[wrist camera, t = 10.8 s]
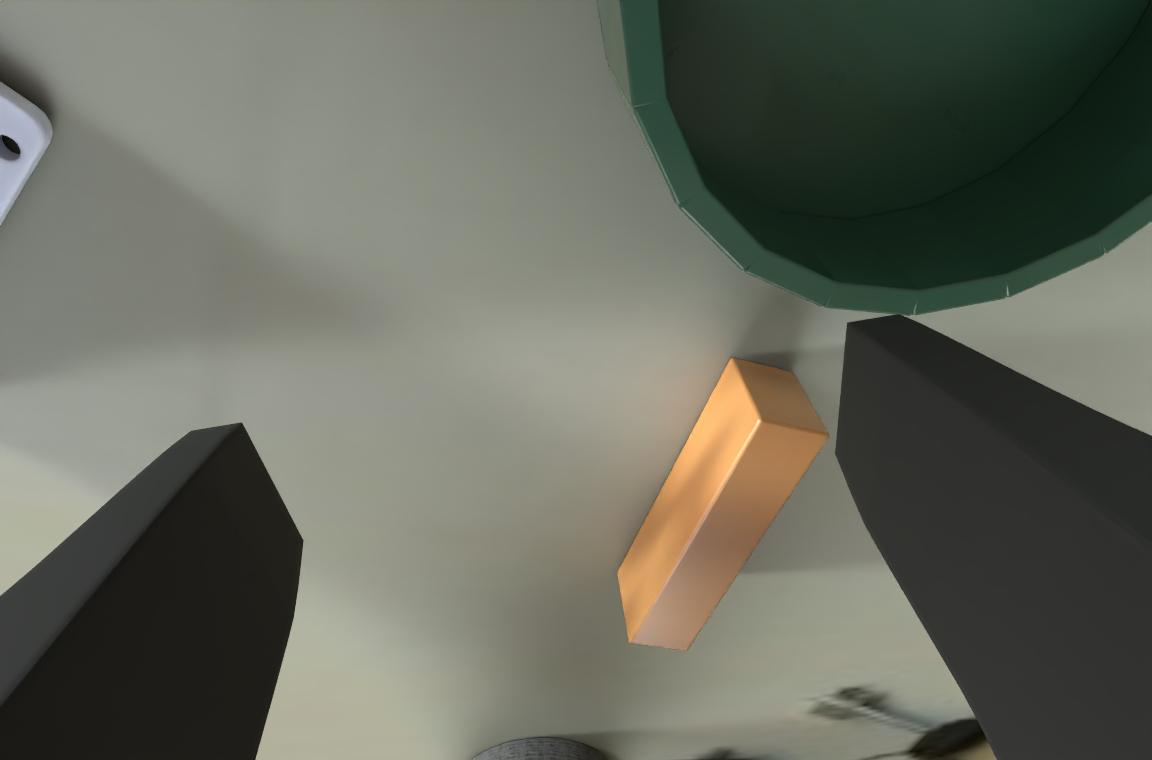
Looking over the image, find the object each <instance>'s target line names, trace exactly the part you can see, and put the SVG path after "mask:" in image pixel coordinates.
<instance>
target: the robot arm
mask: <svg viewBox="0 0 1152 760" xmlns="http://www.w3.org/2000/svg"><path fill="white" fill-rule="evenodd" d="M2 135H5V136H8V137H10V138H12V139H13V140H14V141H15V142H16V143H17V144H18V146H19V148H20V150H21V153H20V154H16V153H14V152H11V151H10V150H9V149H8V148H7V147H6V146H5V145H4V143H3V141H2ZM52 136H53V130H52V125H51V122H50V121H49V119H48V118H47V116H46V114H45V113H44V112H43V111H41V110H40V109H39V108H38V107H37V106H36V105H34V104H33V103H31V102H30V101H28V100H27V99H25V98H24V97H22V96H21V95H20V94H18V93H17V92H15V91H14V90H12V89H11V88H9V87H8V86H6V85H5V84H3V83H2V82H0V226H1V224H2V222H3V221H4V219H5V217H6V216H7V214H8V212H9V211H10V209H11V207H12V206H13V204H14V202H15V201H16V199H17V197H18V196H19V194H20V192H21V191H22V189H23V187H24V186H25V184H26V182H27V180H28V179H29V177H30V175H31V174H32V172H33V170H34V169H35V167H36V165H37V164H38V162H39V160H40V159H41V157H42V155H43V154H44V152H45V150H46V149H47V147H48V145H49V144H50V142H51V139H52ZM835 454H836V457H837V459H838V462H839V464H840V467H841V469H842V472H843V474H844V477H845V479H846V482H847V484H848V487H849V489H850V492H851V494H852V497H853V499H854V501H855V503H856V506H857V508H858V510H859V513H860V515H861V517H862V520H863V522H864V524H865V526H866V528H867V530H868V531H869V533H870V535H871V537H872V539H873V540H874V542H875V544H876V546H877V547H878V549H879V551H880V552H881V554H882V556H883V558H884V559H885V561H886V563H887V565H888V566H889V568H890V570H891V572H892V573H893V575H894V577H895V578H896V580H897V582H898V584H899V585H900V587H901V589H902V590H903V592H904V594H905V595H906V597H907V599H908V601H909V602H910V604H911V606H912V607H913V609H914V611H915V612H916V614H917V616H918V618H919V619H920V621H921V623H922V624H923V626H924V628H925V629H926V631H927V633H928V634H929V636H930V638H931V640H932V641H933V643H934V645H935V646H936V648H937V650H938V651H939V653H940V655H941V657H942V658H943V660H944V662H945V663H946V665H947V667H948V668H949V670H950V672H951V674H952V675H953V677H954V679H955V680H956V682H957V684H958V685H959V687H960V689H961V691H962V692H963V694H964V696H965V698H966V700H967V702H968V703H969V705H970V707H971V709H972V711H973V713H974V715H975V717H976V718H977V720H978V722H979V724H980V726H981V728H982V730H983V731H984V733H985V736H986V738H987V740H988V742H989V744H990V746H991V748H992V750H993V753H994V755H995V757H996V759H997V760H1152V436H1151V435H1148V434H1146V433H1144V432H1142V431H1139V430H1137V429H1135V428H1132V427H1130V426H1128V425H1126V424H1124V423H1121V422H1119V421H1117V420H1115V419H1113V418H1111V417H1109V416H1106V415H1104V414H1102V413H1100V412H1098V411H1096V410H1094V409H1091V408H1089V407H1087V406H1085V405H1083V404H1081V403H1079V402H1077V401H1075V400H1073V399H1071V398H1069V397H1066V396H1064V395H1062V394H1060V393H1058V392H1056V391H1054V390H1052V389H1050V388H1048V387H1046V386H1044V385H1042V384H1040V383H1038V382H1036V381H1034V380H1032V379H1030V378H1028V377H1026V376H1024V375H1022V374H1020V373H1018V372H1016V371H1014V370H1012V369H1010V368H1008V367H1006V366H1004V365H1002V364H1000V363H998V362H996V361H994V360H993V359H991V358H989V357H987V356H985V355H983V354H981V353H979V352H977V351H975V350H973V349H971V348H969V347H967V346H965V345H963V344H961V343H959V342H957V341H955V340H953V339H951V338H949V337H947V336H945V335H943V334H941V333H939V332H937V331H935V330H933V329H931V328H929V327H927V326H925V325H923V324H920V323H918V322H916V321H914V320H911V319H909V318H907V317H904V316H902V315H900V314H897V315H891V316H885V317H879V318H873V319H867V320H861V321H855V322H849V323H847V330H846V341H845V352H844V363H843V374H842V385H841V396H840V407H839V418H838V429H837V440H836V451H835ZM302 549H303V539H302V537H301V535H300V533H299V531H298V529H297V527H296V525H295V523H294V522H293V520H292V518H291V516H290V514H289V512H288V510H287V508H286V506H285V504H284V502H283V500H282V498H281V497H280V495H279V493H278V491H277V489H276V487H275V485H274V483H273V481H272V479H271V477H270V475H269V474H268V472H267V470H266V468H265V466H264V464H263V462H262V460H261V458H260V456H259V454H258V452H257V450H256V449H255V447H254V445H253V443H252V441H251V439H250V437H249V435H248V433H247V431H246V429H245V427H244V426H243V424H242V423H236V424H230V425H224V426H218V427H212V428H206V429H199V430H193V431H191V432H189V433H188V434H187V435H185V436H184V437H183V438H181V439H180V440H179V441H177V442H176V443H175V444H173V445H172V446H171V447H170V448H168V449H167V450H166V451H165V452H164V453H162V454H161V455H160V456H159V457H158V458H157V459H155V460H154V461H153V462H152V463H151V464H150V465H148V466H147V467H146V468H145V469H144V470H143V471H142V472H140V473H139V474H138V475H137V476H136V477H135V478H134V479H133V480H131V481H130V482H129V483H128V484H127V485H126V486H125V487H124V488H122V489H121V490H120V491H119V492H118V493H117V494H116V495H115V496H114V497H112V498H111V499H110V500H109V501H108V502H107V503H106V504H105V505H104V506H102V507H101V508H100V509H99V510H98V511H97V512H96V513H95V514H93V515H92V516H91V517H90V518H89V519H88V520H87V521H86V522H85V523H83V524H82V525H81V526H80V527H79V528H78V529H77V530H76V531H74V532H73V533H72V534H71V535H70V536H69V537H68V538H67V539H66V540H64V541H63V542H62V543H61V544H60V545H59V546H58V547H57V548H55V549H54V550H53V551H52V552H51V553H50V554H49V555H48V556H46V557H45V558H44V559H43V560H42V561H41V562H40V563H39V564H37V565H36V566H35V567H34V568H33V569H32V570H31V571H29V572H28V573H27V574H26V575H25V576H24V577H22V578H21V579H20V580H19V581H18V582H16V583H15V584H14V585H13V586H12V587H10V588H9V589H8V590H7V591H6V592H4V593H3V594H2V595H1V596H0V760H255V759H256V755H257V752H258V748H259V744H260V741H261V737H262V734H263V730H264V726H265V723H266V719H267V715H268V712H269V708H270V705H271V701H272V697H273V694H274V690H275V687H276V683H277V679H278V676H279V672H280V668H281V664H282V661H283V657H284V653H285V649H286V646H287V642H288V638H289V634H290V630H291V626H292V622H293V618H294V612H295V605H296V598H297V591H298V585H299V576H300V567H301V558H302Z"/></svg>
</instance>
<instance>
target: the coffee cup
mask: <svg viewBox="0 0 1152 760" xmlns="http://www.w3.org/2000/svg"><path fill="white" fill-rule="evenodd" d="M473 760H605V758H604V757H603V756H602V755H601V754H600V753H599V752H597V751H596V750H594V749H593V748H591V747H589V746H587V745H584V744H581V743H578V742H575V741H571V740H565V739H558V738H531V739H523V740H517V741H512V742H508V743H504V744H501V745H498V746H496V747H493V748H491V749H489V750H487V751H485V752H483V753H481V754H479V755H478V756H476V757H475V758H474V759H473Z"/></svg>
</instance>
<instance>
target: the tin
mask: <svg viewBox="0 0 1152 760" xmlns="http://www.w3.org/2000/svg"><path fill="white" fill-rule="evenodd" d="M597 4H598V10H599V16H600V22H601V28H602V33H603V39H604V45H605V53H606V59H607V61H608V66H609V68H610V70H611V72H612V74H613V77H614V79H615V81H616V83H617V85H618V87H619V90H620V92H621V94H622V96H623V98H624V100H625V102H626V105H627V107H628V109H629V111H630V113H631V115H632V117H633V120H634V122H635V124H636V126H637V128H638V130H639V132H640V135H641V137H642V139H643V141H644V143H645V145H646V147H647V149H648V151H649V153H650V155H651V157H652V159H653V161H654V162H655V164H656V166H657V168H658V170H659V172H660V174H661V176H662V178H663V180H664V182H665V184H666V186H667V188H668V190H669V192H670V194H671V195H672V197H673V199H674V201H675V203H676V204H677V205H678V207H679V209H680V210H681V211H682V212H683V213H684V214H685V215H686V216H687V217H688V218H689V219H690V220H691V221H692V222H693V223H694V224H695V225H696V226H697V227H698V228H699V229H700V230H701V231H702V232H703V233H704V234H705V235H706V236H707V237H708V238H709V239H710V240H711V241H712V242H713V243H714V244H715V245H716V246H717V247H718V248H719V249H720V250H721V251H722V252H723V253H724V254H725V255H726V256H727V257H728V258H729V259H730V260H731V261H732V262H733V263H734V264H735V265H736V266H737V267H738V268H739V269H741V270H744V272H745V273H747V274H749V275H751V276H754V277H756V278H758V279H760V280H763V281H765V282H767V283H769V284H771V285H774V286H776V287H778V288H780V289H783V290H785V291H787V292H789V293H791V294H794V295H796V296H798V297H800V298H803V299H805V300H807V301H809V302H811V303H814V304H816V305H818V306H824V307H825V308H834V309H844V310H855V311H865V312H876V313H887V314H900V315H908V316H909V315H911V314H912V315H919V314H925V313H930V312H936V311H941V310H946V309H952V308H957V307H963V306H968V305H973V304H979V303H984V302H989V301H995V300H1000V299H1004V298H1005V297H1011V296H1014V295H1016V294H1018V293H1020V292H1023V291H1025V290H1027V289H1029V288H1032V287H1034V286H1036V285H1038V284H1041V283H1043V282H1045V281H1048V280H1050V279H1052V278H1054V277H1057V276H1059V275H1061V274H1063V273H1066V272H1068V271H1070V270H1072V269H1075V268H1077V267H1079V266H1081V265H1084V264H1086V263H1088V262H1091V261H1093V260H1095V259H1097V258H1100V257H1102V256H1103V255H1104V253H1108V252H1110V251H1111V250H1113V249H1114V248H1116V247H1117V246H1118V245H1120V244H1121V243H1123V242H1124V241H1125V240H1127V239H1128V238H1130V237H1131V236H1132V235H1134V234H1135V233H1137V232H1138V231H1140V230H1141V229H1142V228H1144V227H1145V226H1147V225H1148V224H1149V223H1151V222H1152V0H597Z"/></svg>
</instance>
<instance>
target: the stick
mask: <svg viewBox="0 0 1152 760" xmlns="http://www.w3.org/2000/svg"><path fill="white" fill-rule="evenodd" d="M828 437H829V433H828V431H827V429H826V427H825V426H824V424H823V422H822V421H821V419H820V417H819V415H818V414H817V412H816V410H815V408H814V407H813V405H812V403H811V401H810V400H809V398H808V396H807V395H806V393H805V391H804V389H803V388H802V386H801V384H800V382H799V381H798V379H797V377H796V376H795V374H794V373H793V372H790V371H786V370H782V369H778V368H774V367H770V366H766V365H762V364H758V363H754V362H749V361H745V360H741V359H737V358H731V359H730V361H729V362H728V364H727V366H726V368H725V370H724V372H723V374H722V376H721V378H720V379H719V381H718V383H717V385H716V387H715V389H714V391H713V393H712V395H711V396H710V398H709V400H708V402H707V404H706V406H705V408H704V410H703V412H702V413H701V415H700V417H699V419H698V421H697V423H696V425H695V427H694V429H693V430H692V432H691V434H690V436H689V438H688V440H687V442H686V444H685V446H684V447H683V449H682V451H681V453H680V455H679V457H678V459H677V461H676V463H675V464H674V466H673V468H672V470H671V472H670V474H669V476H668V478H667V480H666V481H665V483H664V485H663V487H662V489H661V491H660V493H659V495H658V497H657V498H656V500H655V502H654V504H653V506H652V508H651V510H650V512H649V514H648V515H647V517H646V519H645V521H644V523H643V525H642V527H641V529H640V530H639V532H638V534H637V536H636V538H635V540H634V542H633V544H632V546H631V547H630V549H629V551H628V553H627V555H626V557H625V559H624V561H623V563H622V564H621V566H620V568H619V570H618V579H619V585H620V591H621V597H622V603H623V609H624V615H625V621H626V627H627V633H628V639H629V642H630V643H631V644H639V645H646V646H654V647H661V648H669V649H676V650H684V651H686V650H688V649H689V647H690V646H691V644H692V643H693V641H694V640H695V638H696V637H697V635H698V634H699V632H700V630H701V629H702V627H703V626H704V624H705V623H706V621H707V620H708V618H709V617H710V615H711V614H712V612H713V611H714V609H715V608H716V606H717V605H718V603H719V602H720V600H721V599H722V597H723V596H724V594H725V593H726V591H727V590H728V588H729V587H730V585H731V584H732V582H733V581H734V579H735V578H736V576H737V575H738V573H739V572H740V570H741V569H742V567H743V566H744V564H745V563H746V561H747V560H748V558H749V557H750V555H751V554H752V552H753V551H754V549H755V547H756V546H757V544H758V543H759V541H760V540H761V538H762V537H763V535H764V534H765V532H766V531H767V529H768V528H769V526H770V525H771V523H772V522H773V520H774V519H775V517H776V516H777V514H778V513H779V511H780V510H781V508H782V507H783V505H784V504H785V502H786V501H787V499H788V498H789V496H790V495H791V493H792V492H793V490H794V489H795V487H796V486H797V484H798V483H799V481H800V480H801V478H802V477H803V475H804V474H805V472H806V471H807V469H808V467H809V466H810V464H811V463H812V461H813V460H814V458H815V457H816V455H817V454H818V452H819V451H820V449H821V448H822V446H823V445H824V443H825V442H826V440H827V439H828Z"/></svg>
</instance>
